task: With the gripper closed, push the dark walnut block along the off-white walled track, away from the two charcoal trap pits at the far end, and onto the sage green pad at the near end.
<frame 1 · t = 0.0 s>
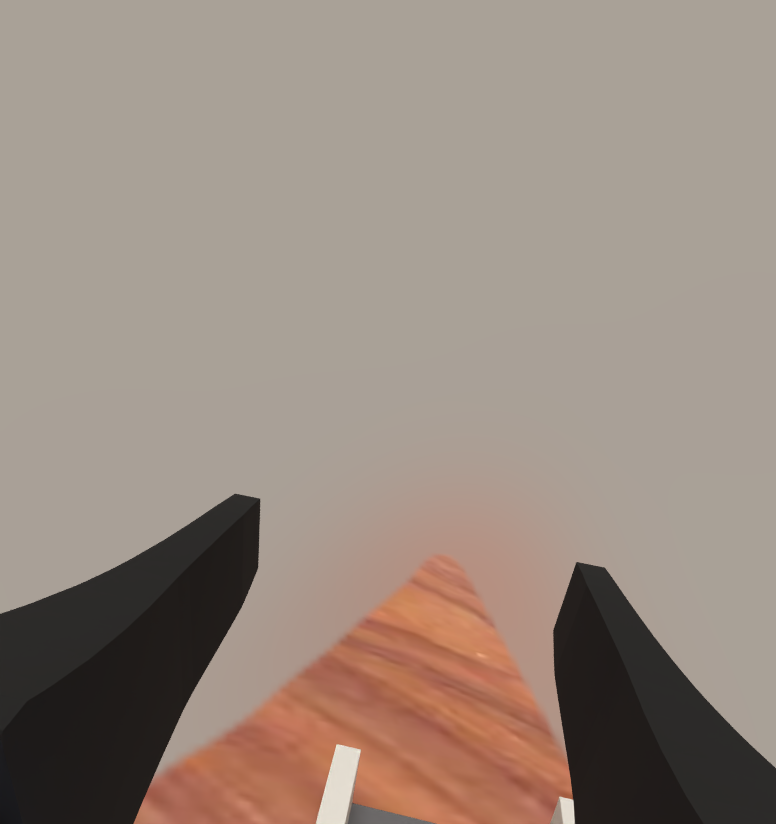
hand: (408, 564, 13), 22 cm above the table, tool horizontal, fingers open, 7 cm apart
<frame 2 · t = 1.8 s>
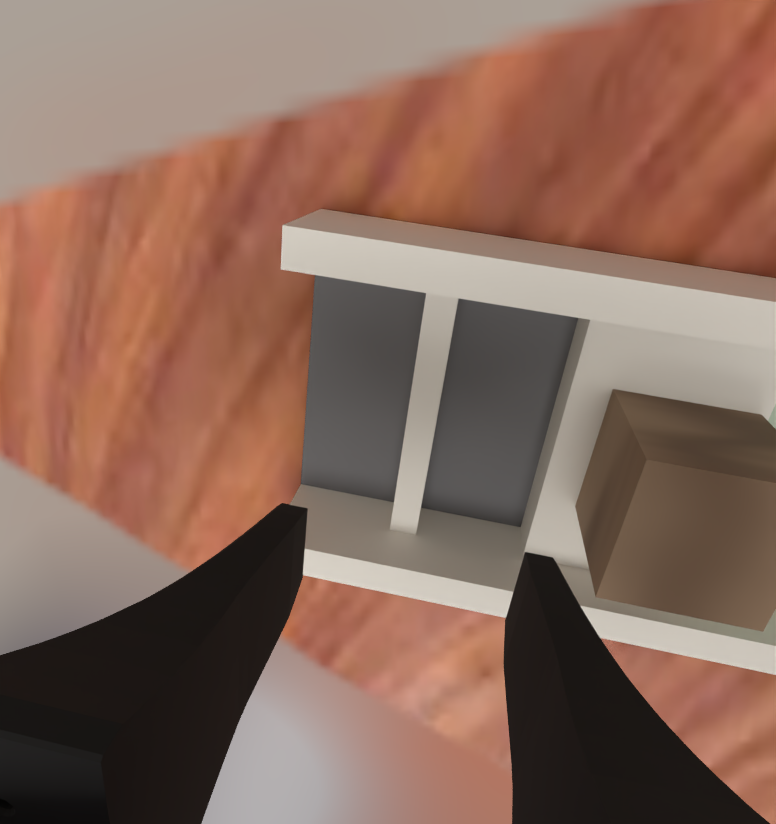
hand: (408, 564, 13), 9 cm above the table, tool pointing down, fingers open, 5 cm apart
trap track: (612, 429, 21), on the table
walnut block: (662, 463, 19), point 2 cm above the table, touching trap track
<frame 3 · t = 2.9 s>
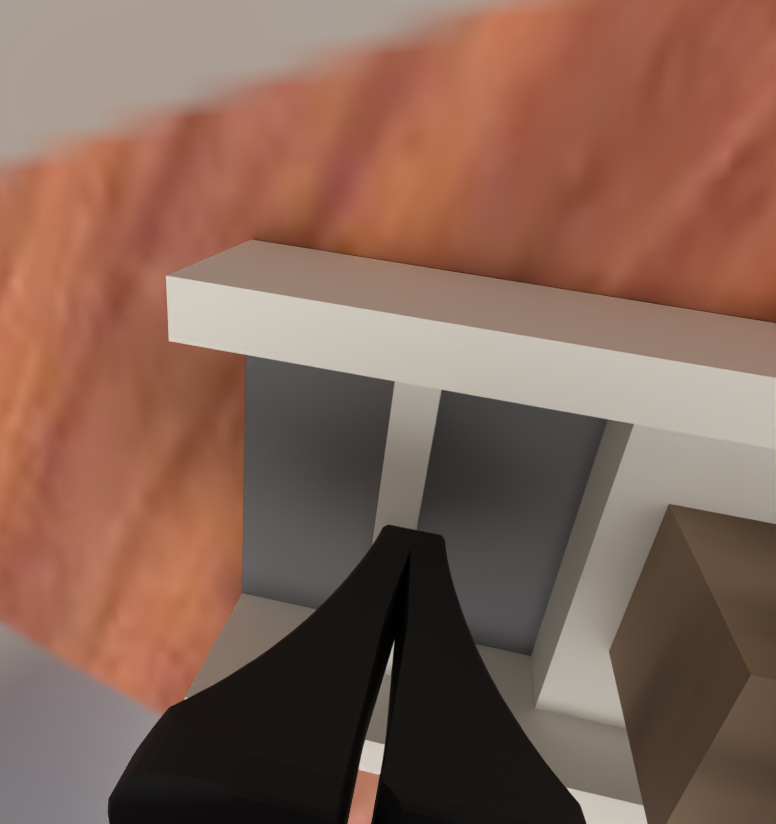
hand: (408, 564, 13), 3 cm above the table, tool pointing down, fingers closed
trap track: (658, 538, 15), on the table
walnut block: (736, 603, 13), point 2 cm above the table, touching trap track
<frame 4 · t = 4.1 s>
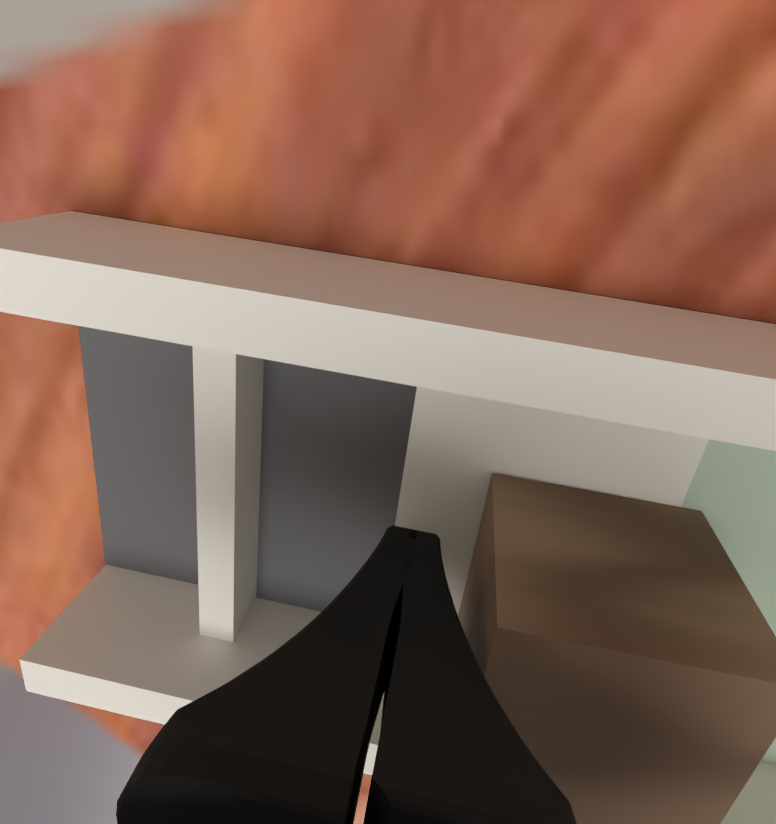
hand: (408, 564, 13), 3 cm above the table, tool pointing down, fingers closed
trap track: (487, 506, 16), on the table
walnut block: (568, 571, 14), point 2 cm above the table, touching gripper
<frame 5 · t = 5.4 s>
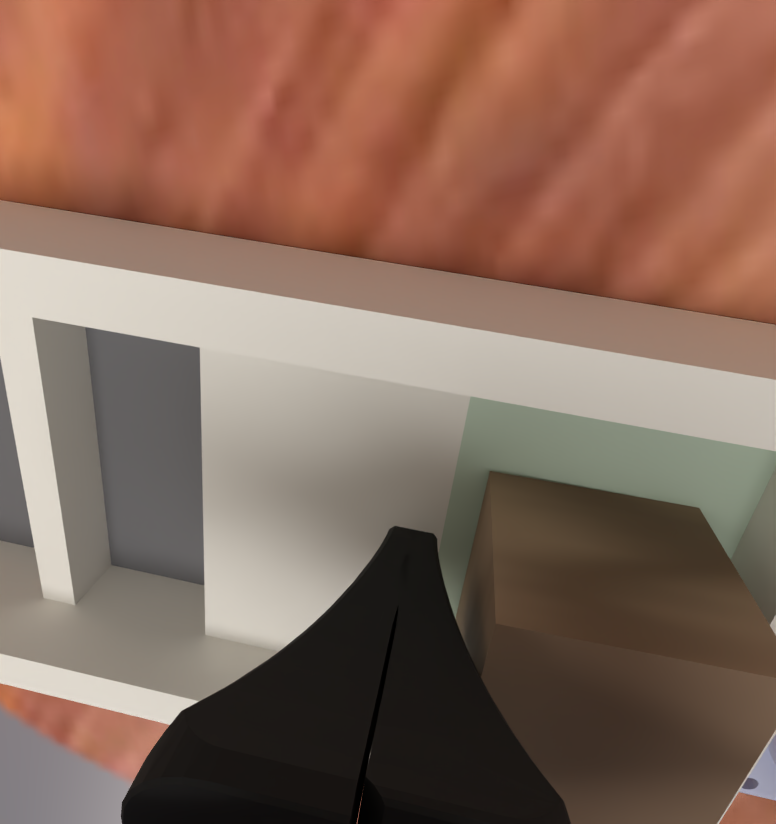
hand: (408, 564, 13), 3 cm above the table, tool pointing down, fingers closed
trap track: (312, 472, 16), on the table
walnut block: (566, 569, 14), point 2 cm above the table, touching gripper, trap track
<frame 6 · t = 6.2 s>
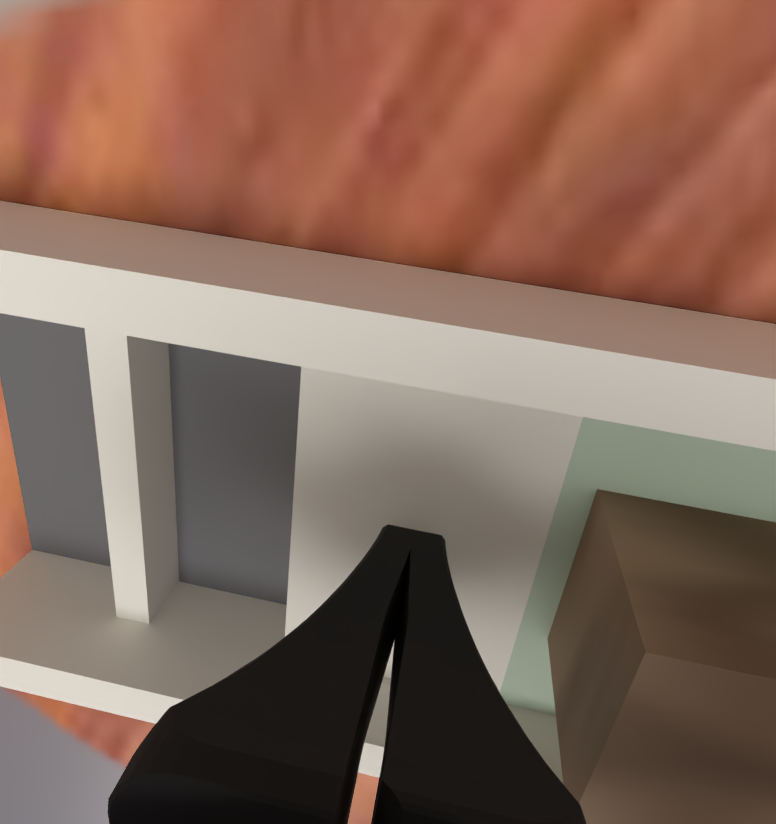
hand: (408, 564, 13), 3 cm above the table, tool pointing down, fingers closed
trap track: (394, 489, 16), on the table
walnut block: (669, 588, 13), point 2 cm above the table, touching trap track
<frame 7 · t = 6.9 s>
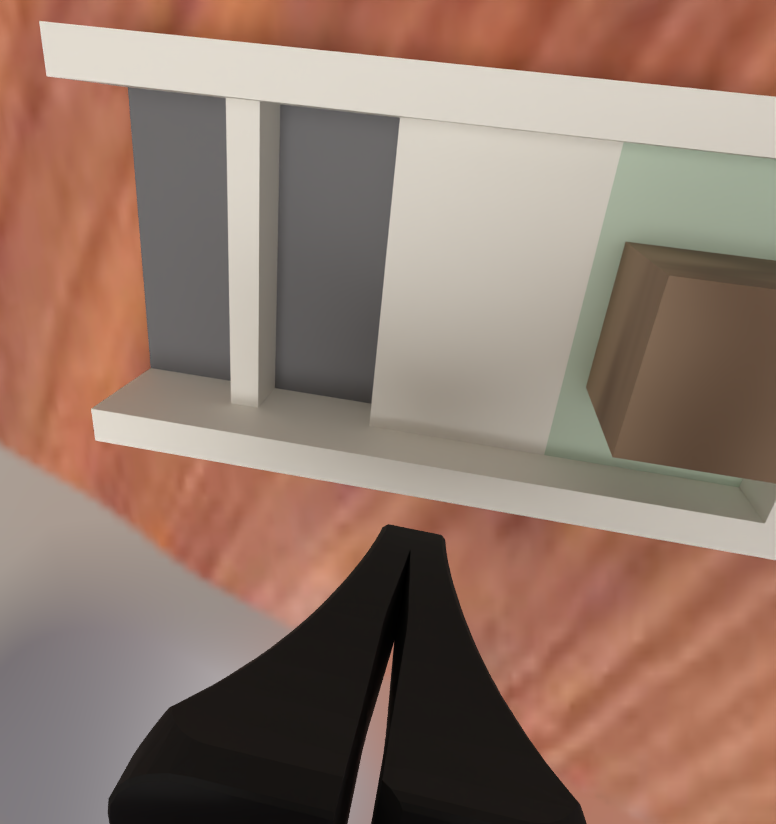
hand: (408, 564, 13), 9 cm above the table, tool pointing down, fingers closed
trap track: (458, 284, 20), on the table
walnut block: (682, 329, 17), point 2 cm above the table, touching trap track
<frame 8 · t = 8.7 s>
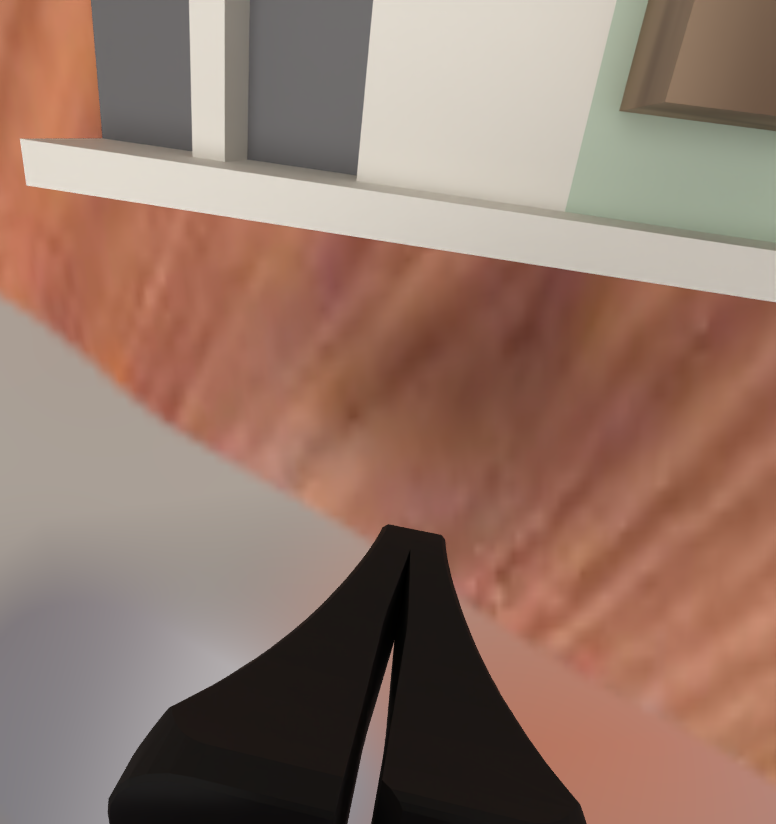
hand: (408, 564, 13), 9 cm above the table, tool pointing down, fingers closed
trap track: (466, 6, 16), on the table
walnut block: (742, 18, 14), point 2 cm above the table, touching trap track
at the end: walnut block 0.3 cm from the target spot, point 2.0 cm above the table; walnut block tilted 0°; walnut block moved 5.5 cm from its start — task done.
